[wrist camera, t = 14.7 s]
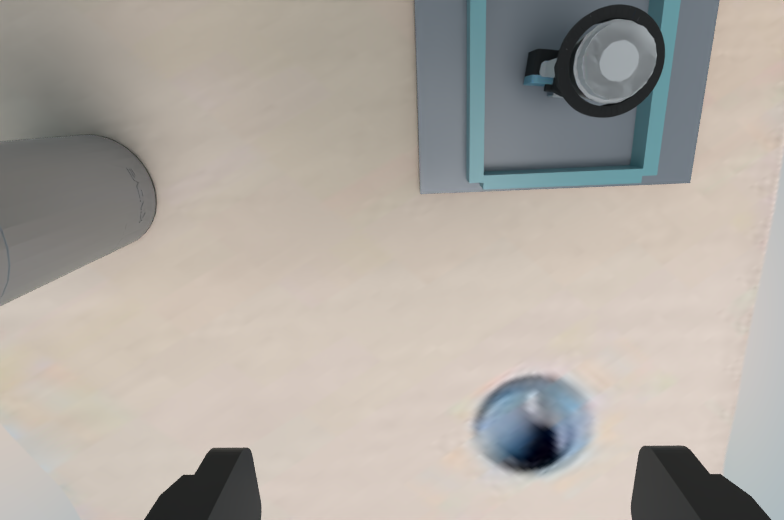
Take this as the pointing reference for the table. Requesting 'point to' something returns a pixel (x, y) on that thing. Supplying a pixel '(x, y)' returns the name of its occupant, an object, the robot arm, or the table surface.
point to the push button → (602, 62)
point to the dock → (549, 99)
